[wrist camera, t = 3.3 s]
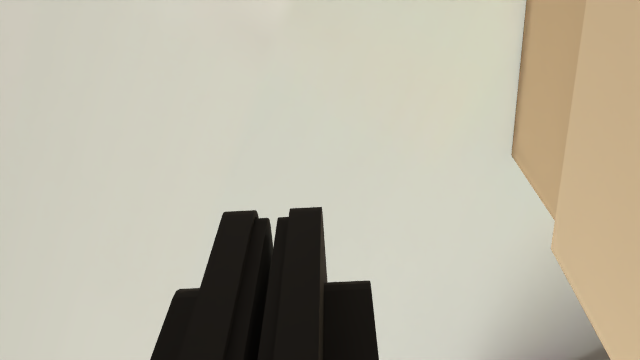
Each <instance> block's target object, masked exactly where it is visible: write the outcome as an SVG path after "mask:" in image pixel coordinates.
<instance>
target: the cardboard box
mask: <svg viewBox="0 0 640 360" xmlns="http://www.w3.org/2000/svg"><path fill="white" fill-rule="evenodd" d="M585 7H586V0H527V1H526V12H525V22H524V32H523V43H522V53H521V63H520V73H519V84H518V94H517V104H516V115H515V125H514V135H513V145H512V157H513V158H514V160H515V161H516V163H517V165H518V166H519V168H520V169H521V171H522V172H523V174H524V175H525V177H526V178H527V180H528V181H529V183H530V184H531V186H532V187H533V189H534V190H535V192H536V193H537V195H538V196H539V198H540V199H541V201H542V202H543V204H544V205H545V207H546V208H547V210H548V211H549V213H550V214H551V216H552V217H553V219H554V220H555V217H556V210H557V203H558V196H559V189H560V182H561V175H562V168H563V161H564V154H565V147H566V140H567V133H568V126H569V119H570V112H571V105H572V98H573V91H574V84H575V77H576V70H577V63H578V56H579V49H580V42H581V35H582V28H583V21H584V14H585Z"/></svg>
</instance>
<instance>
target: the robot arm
mask: <svg viewBox="0 0 640 360" xmlns="http://www.w3.org/2000/svg"><path fill="white" fill-rule="evenodd" d="M150 360H379V357H378V348H377V339H376V329H375V320H374V311H373V301H372V292H371V284H370V281H351V282H328V283H327V271H326V257H325V242H324V228H323V215H322V207H313V208H293V209H290V212H289V217H279V218H278V220H277V227H276V234H275V241H274V248H273V242H272V234H271V226H270V220H269V218H258V213H257V211H256V210H252V211H232V212H224V213H223V215H222V218H221V221H220V225H219V228H218V231H217V234H216V238H215V241H214V244H213V247H212V251H211V254H210V257H209V260H208V264H207V267H206V270H205V273H204V277H203V280H202V283H201V286H200V288H193V289H179V290H177V291H176V293H175V295H174V296H173V299H172V301H171V304H170V307H169V310H168V312H167V315H166V318H165V321H164V323H163V326H162V329H161V332H160V334H159V337H158V340H157V343H156V345H155V348H154V351H153V354H152V356H151V359H150Z"/></svg>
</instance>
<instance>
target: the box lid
mask: <svg viewBox="0 0 640 360" xmlns="http://www.w3.org/2000/svg"><path fill="white" fill-rule="evenodd" d="M551 250H552V252H553V254H554V256H555V257H556V259H557V261H558V263H559V265H560V267H561V269H562V270H563V272H564V274H565V276H566V278H567V280H568V281H569V283H570V285H571V287H572V289H573V291H574V293H575V294H576V296H577V298H578V300H579V302H580V304H581V306H582V307H583V309H584V311H585V313H586V315H587V317H588V319H589V320H590V322H591V324H592V326H593V328H594V330H595V332H596V333H597V335H598V337H599V339H600V341H601V343H602V345H603V346H604V348H605V350H606V352H607V354H608V356H609V358H610V359H611V360H640V0H586V7H585V14H584V21H583V28H582V35H581V42H580V49H579V56H578V63H577V70H576V77H575V84H574V91H573V98H572V105H571V112H570V119H569V126H568V133H567V140H566V147H565V154H564V161H563V168H562V175H561V182H560V189H559V196H558V203H557V210H556V217H555V224H554V231H553V238H552V245H551Z"/></svg>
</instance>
